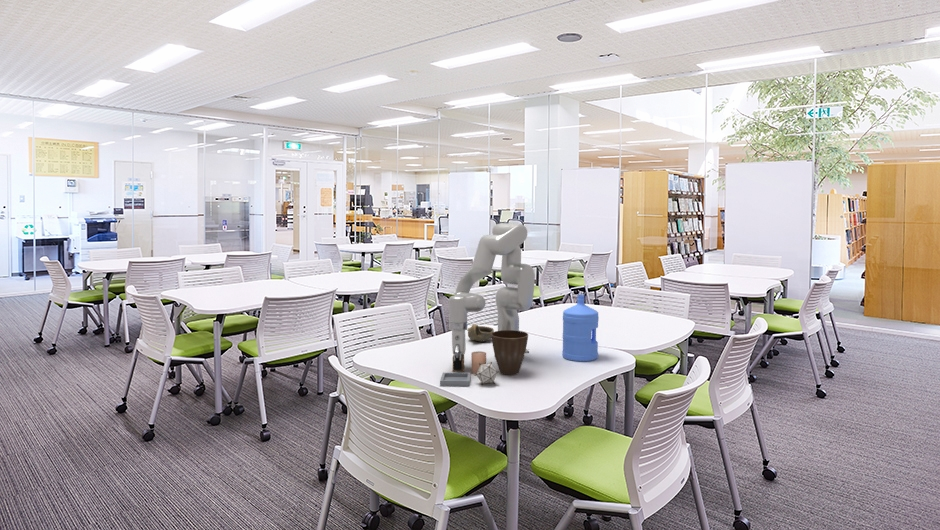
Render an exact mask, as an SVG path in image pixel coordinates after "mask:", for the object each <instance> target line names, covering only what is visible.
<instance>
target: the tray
mask: <svg viewBox="0 0 940 530" xmlns="http://www.w3.org/2000/svg"><path fill="white" fill-rule="evenodd" d="M471 374H472V372H442V375H441V377H440V380H439V387H470V386H471V385H470V384H471V378H472V377H471V376H472V375H471Z"/></svg>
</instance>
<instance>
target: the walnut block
mask: <svg viewBox="0 0 940 530" xmlns="http://www.w3.org/2000/svg"><path fill="white" fill-rule="evenodd" d="M452 355H453V356H452V372H453V371H454V372H453V373H465V354H464V355H461V360H462V370H454V354H452ZM459 356H460V355H459ZM455 371H457V372H455Z"/></svg>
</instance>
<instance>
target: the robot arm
mask: <svg viewBox="0 0 940 530" xmlns="http://www.w3.org/2000/svg"><path fill="white" fill-rule="evenodd" d="M491 231H492V233H491V234H485V235H483V236H482V237H481V238H479V241H478V245H477V248H476V251H475V255H474V258H473V262H472V265H471V267H470V269H469V270H467V272H465V273H464V275H463V276H462V277H461V279H460V280H459V281H458V284H457V286H456V288H455V292H454V295H451V296H449V299H448V330H450V331H451V347H452V355H454V370H462V360H461V355H464V356H465V354H466V350H467V349H466V348H467V347H466V331H467V329H468V313H478V312H482V310H484V309H485V306H486V299H485V298H484V296H483V295H481V294H478V293H473V292H472V293H471V289H472V287H473V286H474V284H476V282H477V281H480V280H482V279H484V278H485V277H487V276H489V275H490V274H491V272H492V270H493V267H494V263H495V259H496V257H497V256H501V267H500V268H501V269H500V279H501V281H502V282H503V283H505V284H509V285H515V286H517V287H513V286H503V287H500V288H499V289H498V290H497V291H496V293H495V304H496V305H495V306H496V308H497V309H496V311H497V331H501V330H515V331H520V316H519V313H518V311H521V312H524V311H528V310H529V309H530V308H532V305H533V301H534V292H535V283H536V281H535V280H536V279H535V277H536V275H535V270H534V268H533V267H532V266H531V265H530V264H526V263H522V249H521V247H520V246H521V245H522V244H523V243H525V241H526V240H527V237H528V229H527V226H525V225H524V224H523V223H511V222H509V223H508V222H504V223H502V222H501V223H497V224H495V225H494V226H493V227H492V230H491ZM493 354H494V353H493ZM525 354H530V349H529V348H528V349H527V348H526V351H525ZM459 355H460V356H459ZM494 357H495V354H494Z"/></svg>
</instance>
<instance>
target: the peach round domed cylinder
mask: <svg viewBox="0 0 940 530" xmlns="http://www.w3.org/2000/svg"><path fill="white" fill-rule="evenodd" d="M470 363H471V374H473V375H476V374H477V372H478V369H479V367H480V365H479V363H480V364H481V365H482V364H487V352H485V351H480V350H479V351H478V350H477V351H472V352H471V362H470Z"/></svg>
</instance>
